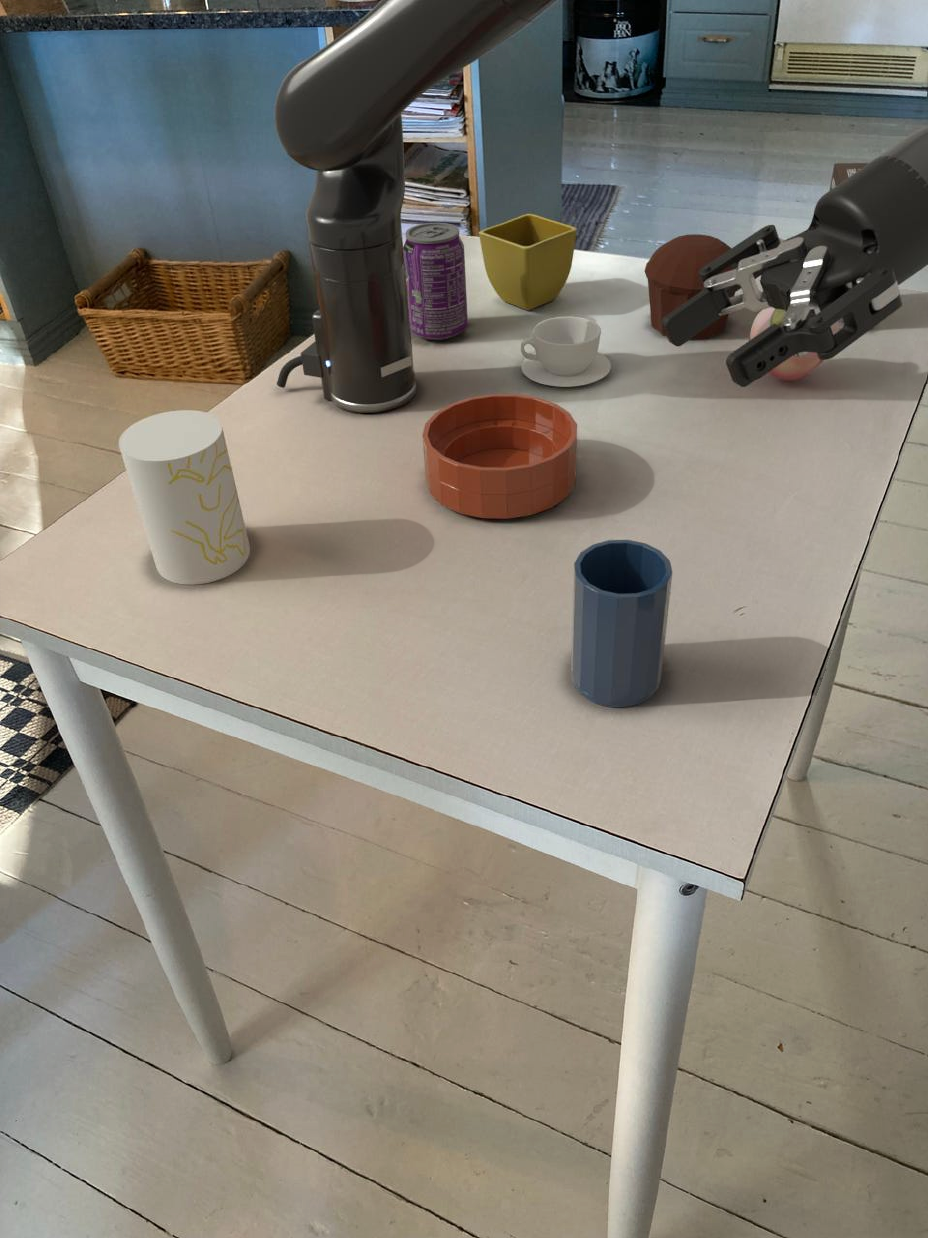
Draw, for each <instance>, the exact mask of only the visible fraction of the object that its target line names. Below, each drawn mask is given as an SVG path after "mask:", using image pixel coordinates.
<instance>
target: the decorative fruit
mask: <svg viewBox="0 0 928 1238" xmlns="http://www.w3.org/2000/svg"><path fill="white" fill-rule="evenodd" d="M785 313H786V311H785V310H781V309H775V308H772V307H770V308H767V309H763V310H760V311H759V312H758V313H757V315H756V316H755V317H754V320H753V322H752V325H751V328H750V334H749V341H750V340H751V339H753V338H754V337H755V336H757V335H758V334H760V333H761V332H763V331H764V330H765V329H767V328H768V327H770V326H771V325H773V324H776V325H778V326H780V327H782V326H783V325H782V319H783V317H784V315H785ZM831 329H832V332H833V335H834V334H835V333H837V332H838V331H839V330H840V329H839V323H838V321H837V322H836V323H834V324H833V325H832V326H831ZM824 361H825V360H821V359H819V358H818V355H817V353H814V352H810V353H808V354H807V355H805V356H802V357H795V356H792V357H790V358H789V359H787V360H786V361H784V362H783V363H781V364H780V365H779V366H777V367H776V368H773V370H771V371H770V372H767V374H769V376H772V377H774V378H775V379H779V380H781V381H785V382H791V381H792V382H793V381H797V380H798V379H801V378H802V379H803V377H805V376H807V375H809V373H812V371H813V370H815V369H816V368H817V367H819V366H820V365H821V364H822V363H823V362H824Z"/></svg>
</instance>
